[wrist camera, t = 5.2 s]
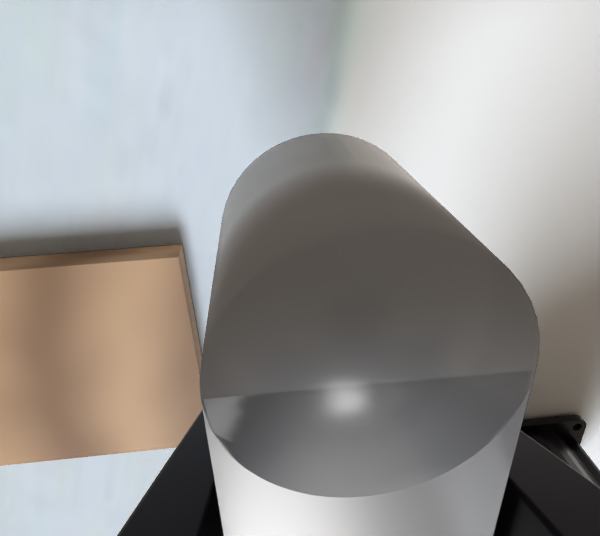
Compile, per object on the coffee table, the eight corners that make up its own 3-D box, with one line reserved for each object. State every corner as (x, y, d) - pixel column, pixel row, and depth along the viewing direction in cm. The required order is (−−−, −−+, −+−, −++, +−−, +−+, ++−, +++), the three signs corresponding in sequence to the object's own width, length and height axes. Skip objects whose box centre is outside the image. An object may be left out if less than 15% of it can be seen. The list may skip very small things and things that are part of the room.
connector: (428, 128, 8) (575, 213, 4) (387, 561, 13) (436, 754, 10) (209, 138, 8) (174, 239, 4) (261, 576, 13) (264, 779, 10)
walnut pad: (182, 243, 19) (178, 257, 18) (213, 424, 24) (211, 443, 23) (-104, 266, 18) (-126, 281, 17) (-14, 447, 23) (-26, 468, 22)
